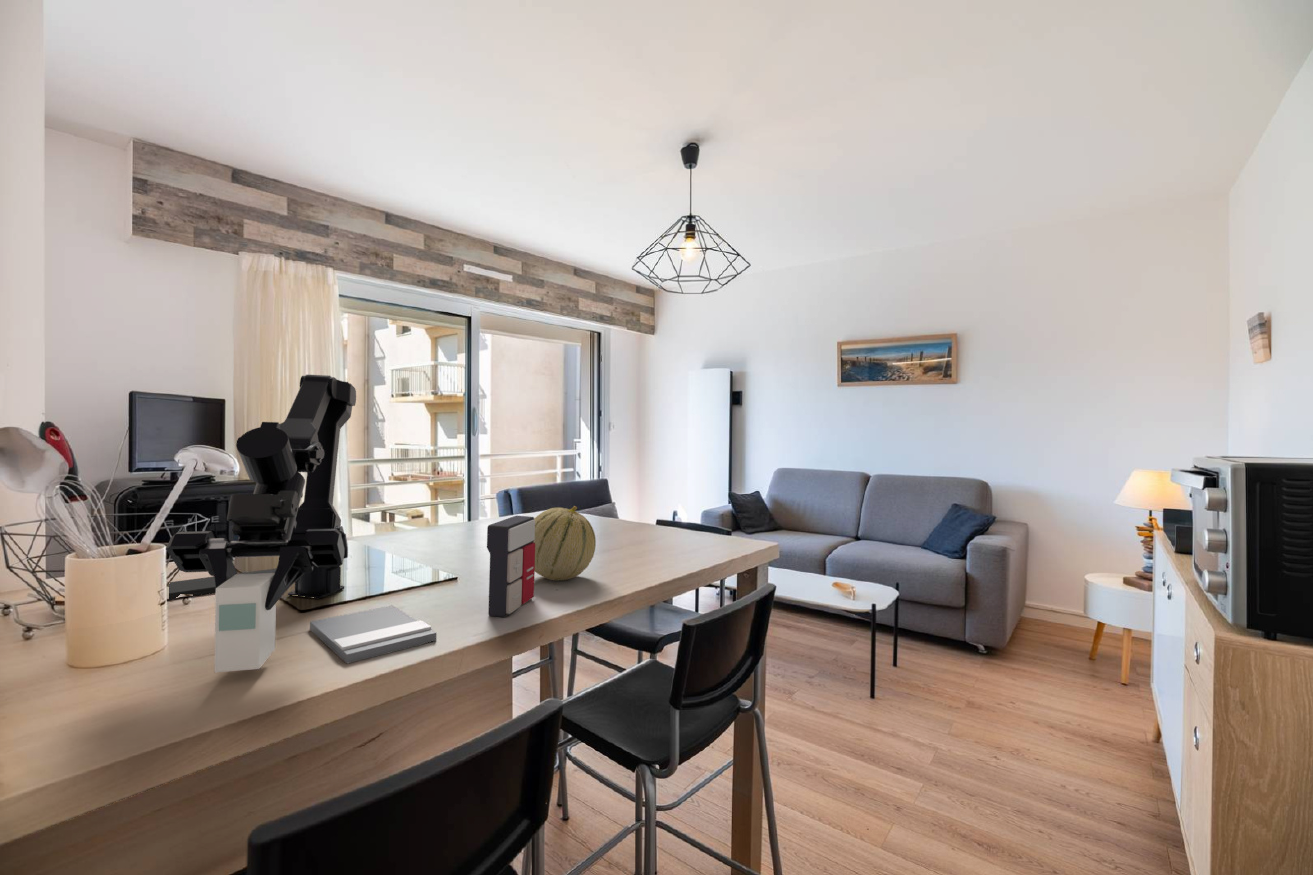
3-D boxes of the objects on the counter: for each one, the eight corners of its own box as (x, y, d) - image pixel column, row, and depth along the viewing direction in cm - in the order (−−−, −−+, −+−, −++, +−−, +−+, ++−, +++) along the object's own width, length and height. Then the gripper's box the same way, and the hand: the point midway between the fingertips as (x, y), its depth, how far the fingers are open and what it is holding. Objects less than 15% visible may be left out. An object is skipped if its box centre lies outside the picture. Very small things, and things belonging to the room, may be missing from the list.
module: (234, 652, 74) (235, 574, 73) (275, 649, 75) (276, 572, 75) (213, 673, 68) (214, 589, 67) (258, 669, 69) (259, 587, 69)
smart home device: (296, 575, 110) (157, 594, 96) (296, 584, 110) (157, 604, 96) (286, 566, 116) (154, 583, 102) (286, 574, 116) (154, 592, 102)
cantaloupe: (511, 574, 120) (513, 502, 120) (575, 566, 128) (577, 499, 128) (538, 593, 108) (540, 513, 108) (607, 583, 116) (610, 509, 116)
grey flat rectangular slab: (346, 663, 75) (347, 651, 75) (310, 629, 86) (310, 618, 86) (436, 640, 84) (436, 629, 84) (392, 612, 95) (392, 602, 95)
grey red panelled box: (508, 618, 94) (511, 527, 94) (484, 616, 95) (487, 525, 94) (536, 599, 105) (538, 516, 104) (514, 596, 106) (516, 515, 105)
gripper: (174, 468, 72) (123, 580, 62) (341, 469, 78) (320, 572, 68) (201, 519, 80) (160, 626, 70) (352, 517, 86) (333, 616, 75)
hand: (244, 609), depth 70 cm, fingers closed on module, 4 cm apart
